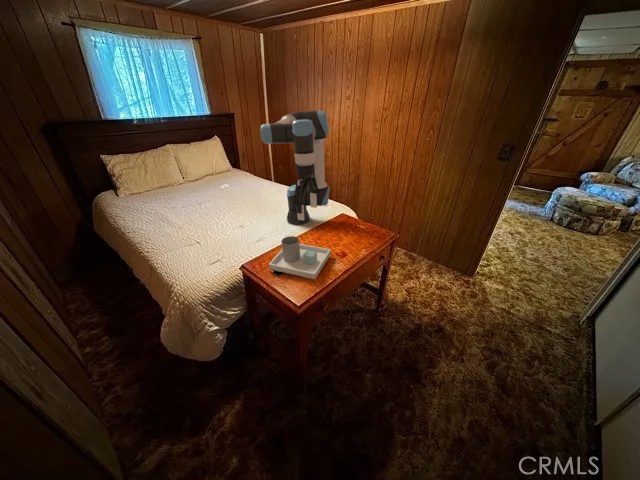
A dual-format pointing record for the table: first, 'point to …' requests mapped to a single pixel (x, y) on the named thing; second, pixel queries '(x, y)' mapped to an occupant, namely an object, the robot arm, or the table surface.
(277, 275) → the smartphone
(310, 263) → the block
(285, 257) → the cup
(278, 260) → the shallow white dish
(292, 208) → the robot arm
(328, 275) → the table surface
